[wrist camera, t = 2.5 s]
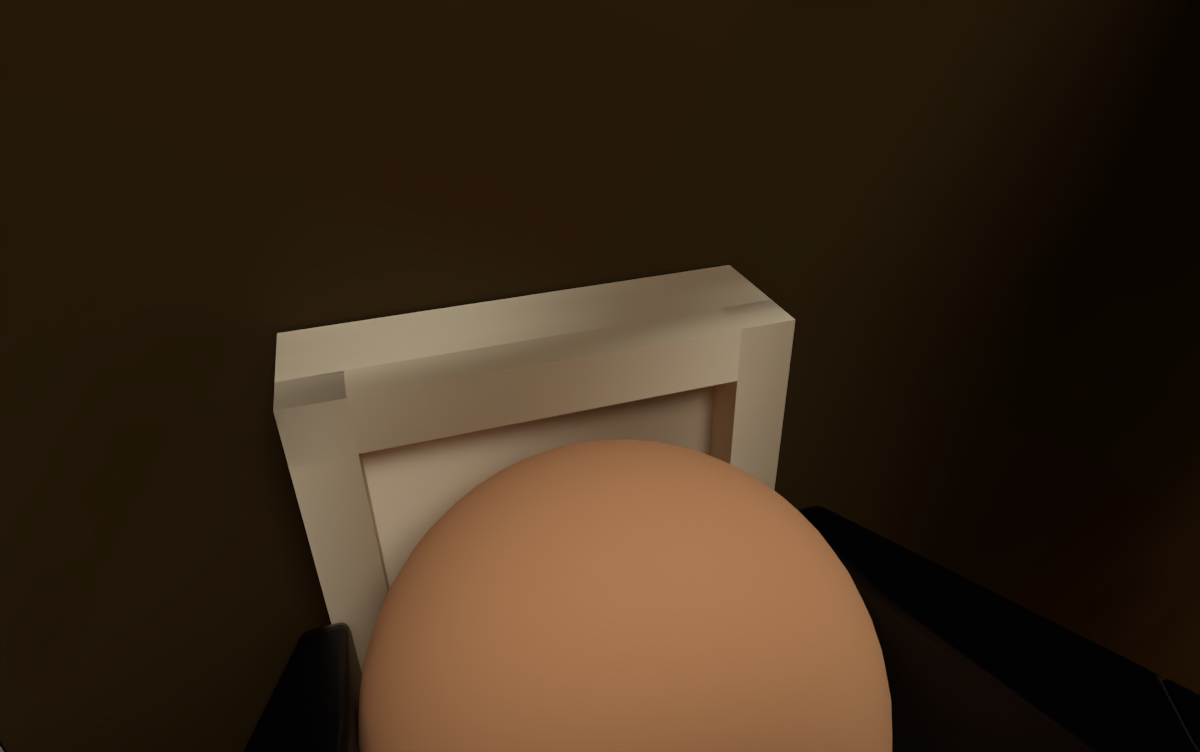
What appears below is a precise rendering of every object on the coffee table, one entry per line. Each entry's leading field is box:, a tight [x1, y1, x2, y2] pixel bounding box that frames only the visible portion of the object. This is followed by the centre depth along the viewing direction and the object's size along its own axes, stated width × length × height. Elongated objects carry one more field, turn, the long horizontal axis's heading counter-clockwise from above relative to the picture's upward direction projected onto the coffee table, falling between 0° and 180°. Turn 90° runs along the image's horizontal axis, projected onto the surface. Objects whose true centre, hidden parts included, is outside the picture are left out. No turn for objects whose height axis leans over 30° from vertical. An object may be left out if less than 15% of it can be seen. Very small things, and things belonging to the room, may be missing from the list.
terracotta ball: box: [358, 439, 892, 752], centre depth 7 cm, size 5×5×5 cm
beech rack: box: [273, 265, 795, 674], centre depth 11 cm, size 5×13×2 cm, turn 1°
